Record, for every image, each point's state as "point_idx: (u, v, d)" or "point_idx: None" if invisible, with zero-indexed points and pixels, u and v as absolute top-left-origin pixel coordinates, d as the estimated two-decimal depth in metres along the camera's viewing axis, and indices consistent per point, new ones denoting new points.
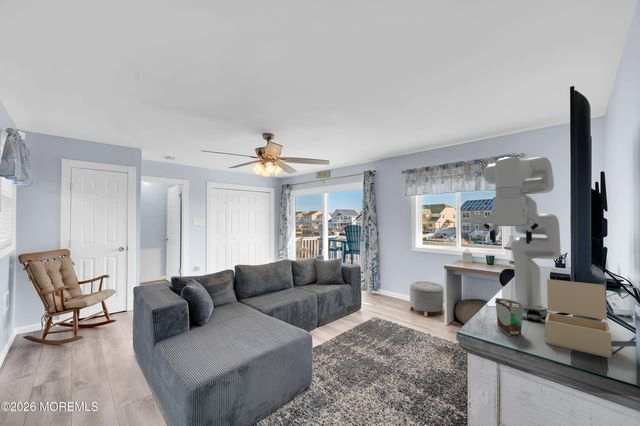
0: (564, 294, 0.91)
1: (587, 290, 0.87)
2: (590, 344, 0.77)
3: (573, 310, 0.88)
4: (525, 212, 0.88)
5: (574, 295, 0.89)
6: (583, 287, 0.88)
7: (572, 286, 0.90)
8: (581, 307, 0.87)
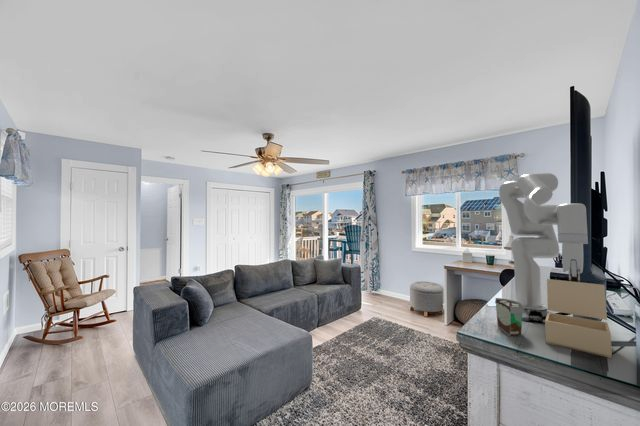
0: (564, 294, 0.91)
1: (587, 290, 0.87)
2: (590, 344, 0.77)
3: (573, 310, 0.88)
4: None
5: (574, 295, 0.89)
6: (583, 287, 0.88)
7: (572, 286, 0.90)
8: (581, 307, 0.87)
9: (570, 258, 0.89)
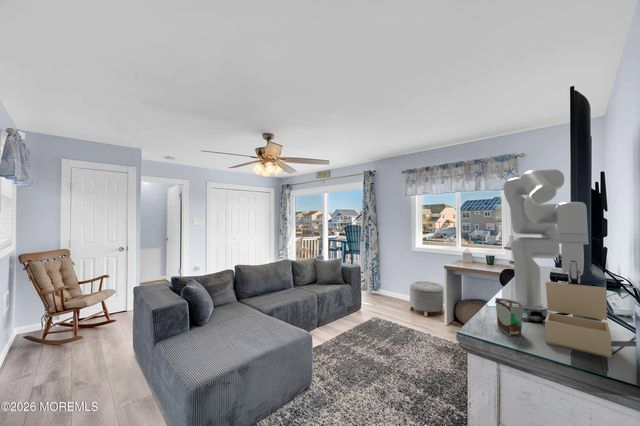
0: (564, 296, 0.88)
1: (587, 293, 0.84)
2: (590, 344, 0.77)
3: (573, 311, 0.87)
4: None
5: (574, 297, 0.86)
6: (583, 290, 0.84)
7: (572, 289, 0.86)
8: (581, 308, 0.86)
9: (570, 259, 0.85)
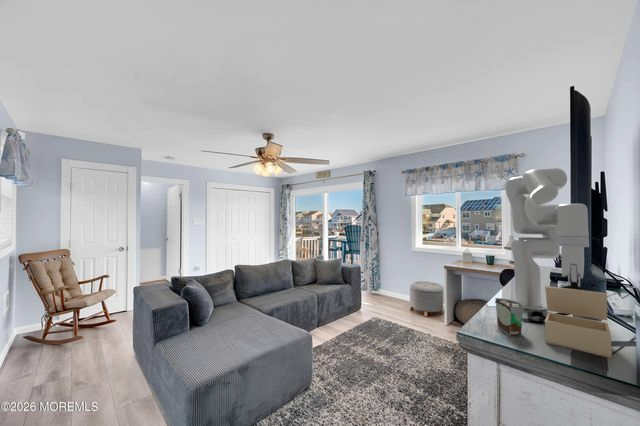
0: (564, 299, 0.87)
1: (588, 298, 0.82)
2: (590, 344, 0.77)
3: (573, 312, 0.87)
4: None
5: (574, 301, 0.85)
6: (583, 295, 0.83)
7: (572, 294, 0.84)
8: (581, 310, 0.85)
9: (570, 262, 0.84)
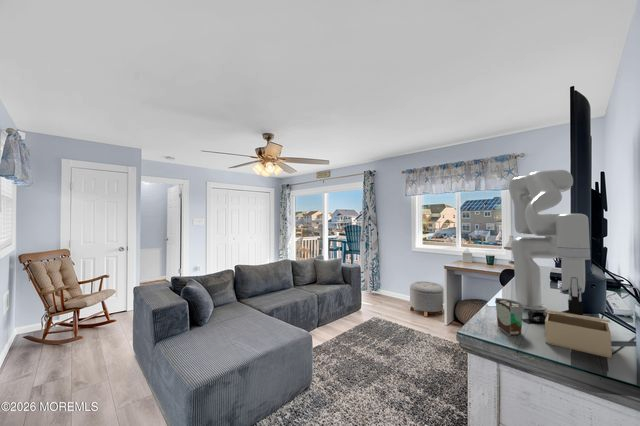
0: None
1: None
2: (590, 344, 0.77)
3: None
4: None
5: None
6: (585, 318, 0.79)
7: (573, 316, 0.81)
8: None
9: (570, 276, 0.79)
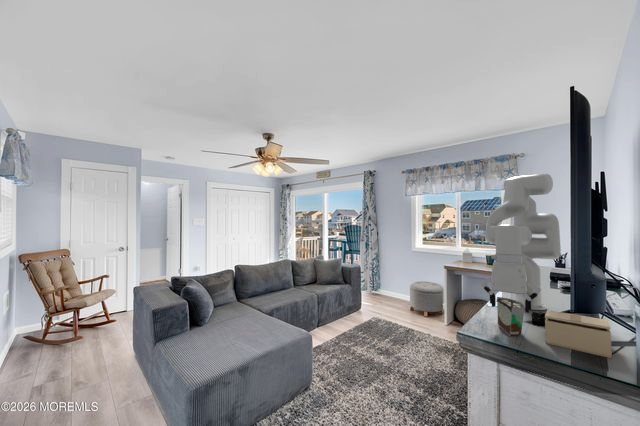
0: None
1: None
2: (590, 344, 0.77)
3: None
4: None
5: None
6: None
7: None
8: None
9: (526, 279, 0.90)
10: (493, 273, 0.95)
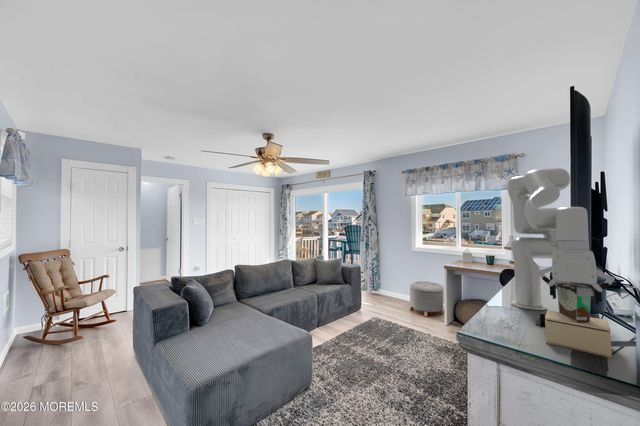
0: None
1: None
2: (590, 344, 0.77)
3: None
4: None
5: None
6: None
7: None
8: None
9: None
10: (554, 262, 0.86)
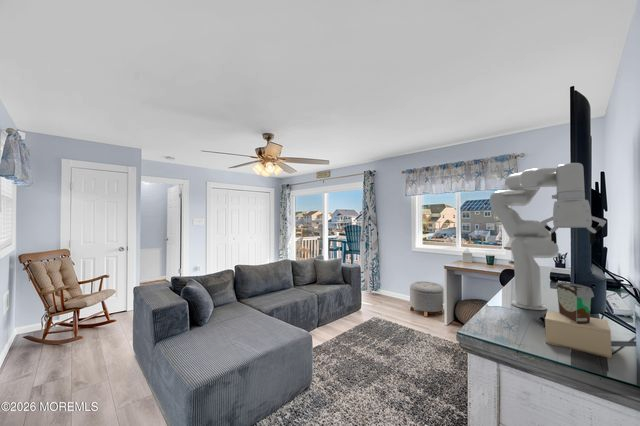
0: None
1: None
2: (590, 344, 0.77)
3: None
4: None
5: None
6: None
7: None
8: None
9: (590, 213, 0.94)
10: (555, 211, 0.99)
